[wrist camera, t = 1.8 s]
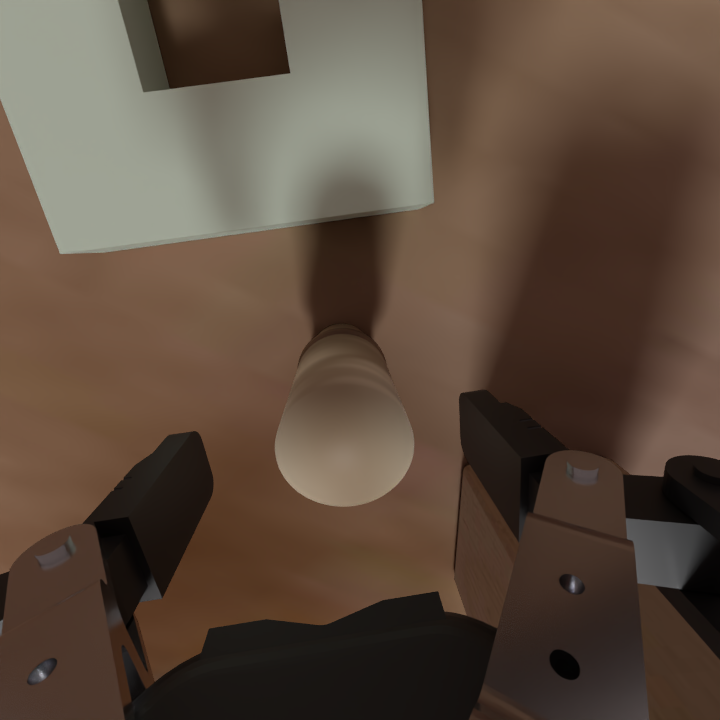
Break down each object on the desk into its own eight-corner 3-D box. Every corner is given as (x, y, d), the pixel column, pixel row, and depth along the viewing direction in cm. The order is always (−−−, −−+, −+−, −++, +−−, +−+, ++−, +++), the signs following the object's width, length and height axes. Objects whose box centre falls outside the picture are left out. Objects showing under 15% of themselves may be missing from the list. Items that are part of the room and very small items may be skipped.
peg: (374, 310, 19) (409, 373, 10) (382, 382, 21) (421, 497, 11) (297, 321, 19) (258, 395, 10) (310, 392, 21) (288, 516, 11)
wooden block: (451, 577, 26) (757, 1470, 7) (460, 461, 23) (1053, 1504, 4) (582, 568, 27) (1193, 1378, 8) (608, 453, 23) (1758, 1340, 4)
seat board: (384, -261, 13) (398, -403, 10) (418, 209, 18) (434, 202, 15) (-56, -209, 13) (-170, -341, 10) (104, 252, 18) (60, 253, 15)
